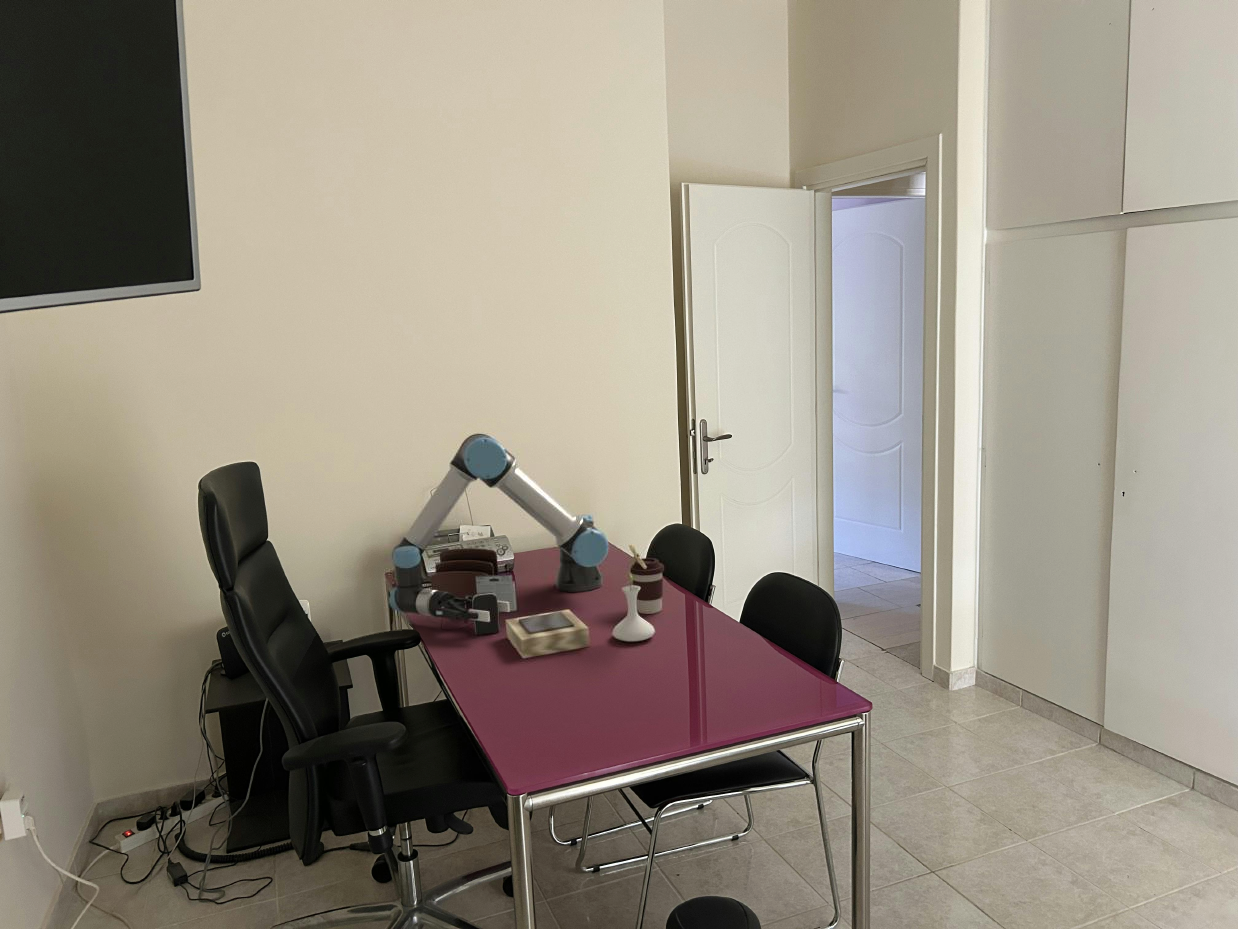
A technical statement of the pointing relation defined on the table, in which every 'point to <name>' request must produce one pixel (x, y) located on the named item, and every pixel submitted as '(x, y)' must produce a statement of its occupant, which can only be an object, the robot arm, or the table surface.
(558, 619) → the stand
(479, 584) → the ink box
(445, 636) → the table surface
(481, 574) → the letter holder
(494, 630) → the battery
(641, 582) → the coffee cup
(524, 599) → the table surface
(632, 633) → the flower in vase
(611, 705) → the table surface
